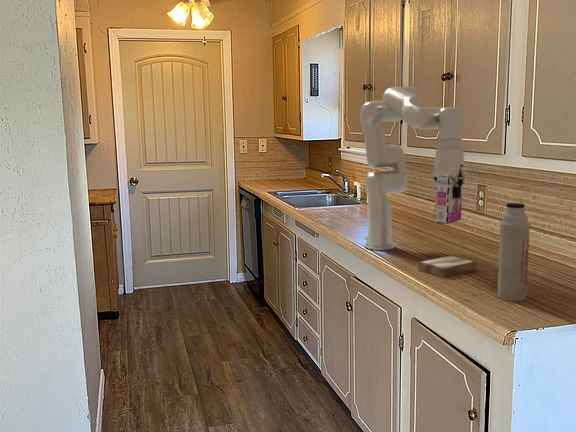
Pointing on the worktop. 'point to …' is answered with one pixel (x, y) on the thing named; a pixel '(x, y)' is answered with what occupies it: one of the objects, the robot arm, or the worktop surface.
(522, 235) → the thermos bottle
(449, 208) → the candy bar box
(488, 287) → the worktop surface
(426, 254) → the worktop surface
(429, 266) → the base
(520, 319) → the worktop surface
